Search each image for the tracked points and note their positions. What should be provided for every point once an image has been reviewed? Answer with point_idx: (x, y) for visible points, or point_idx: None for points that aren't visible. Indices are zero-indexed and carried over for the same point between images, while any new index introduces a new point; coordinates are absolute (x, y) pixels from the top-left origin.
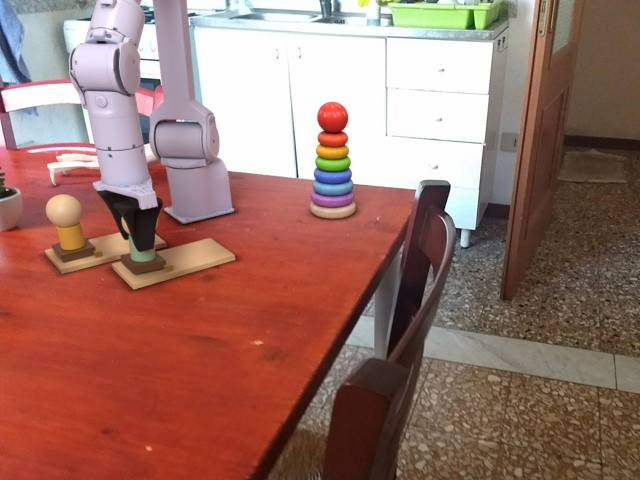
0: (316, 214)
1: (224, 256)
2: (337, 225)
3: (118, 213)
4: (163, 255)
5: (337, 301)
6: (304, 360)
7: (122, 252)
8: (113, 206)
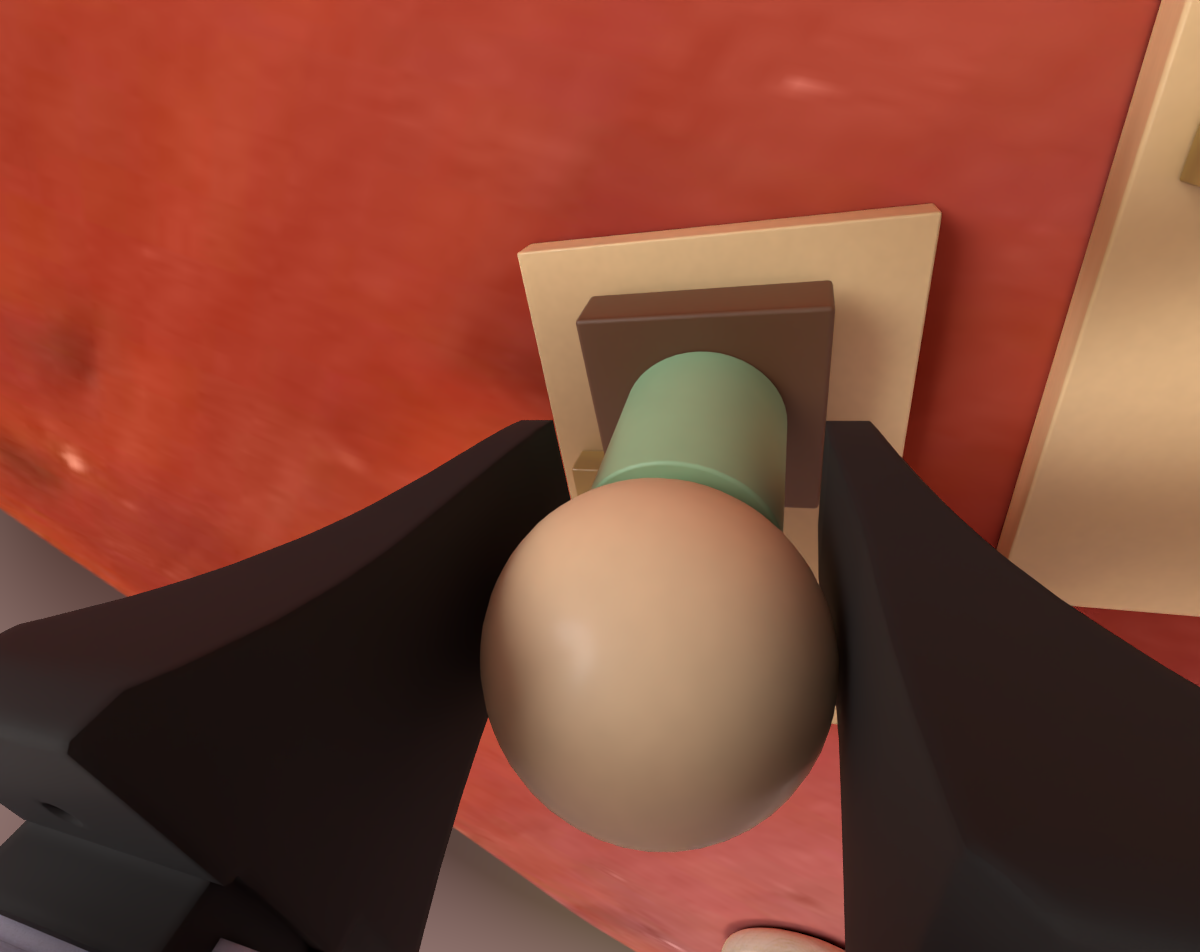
0: (788, 938)
1: None
2: (696, 905)
3: (866, 616)
4: (808, 519)
5: None
6: (10, 497)
7: (1095, 347)
8: (885, 688)
